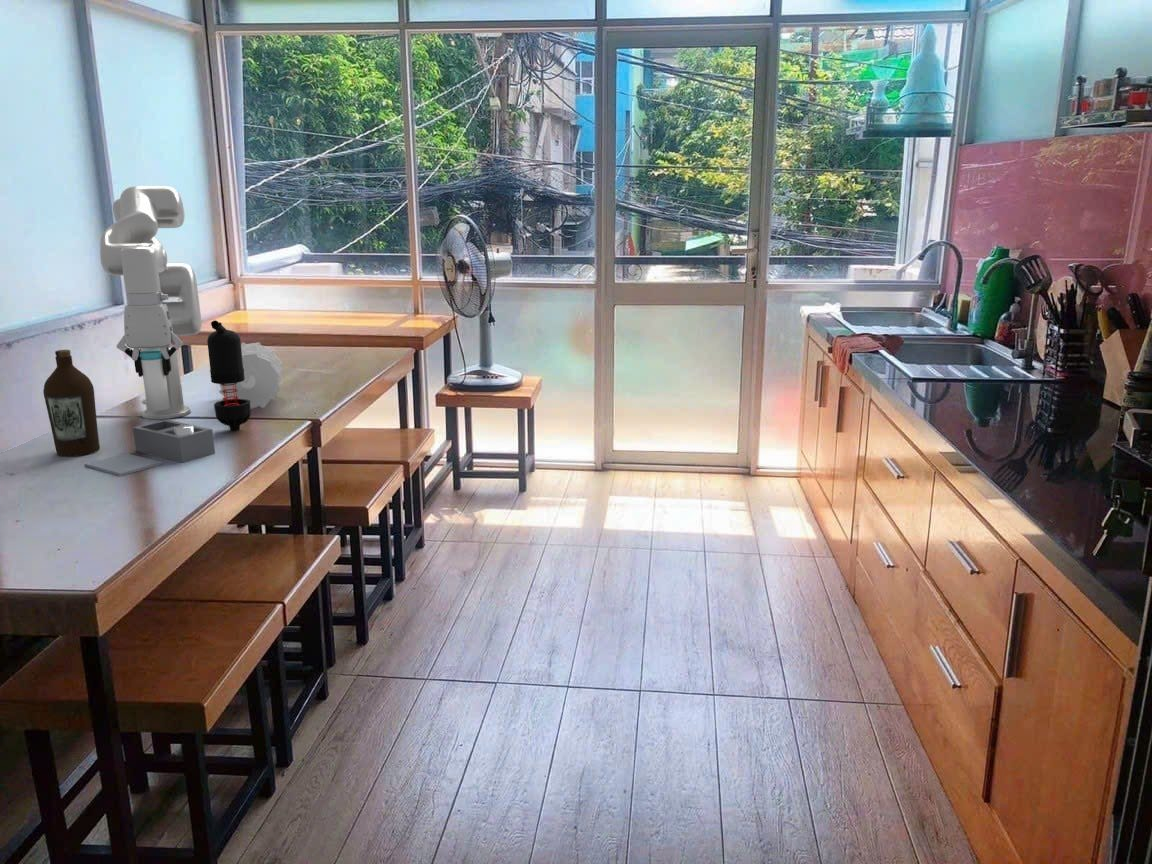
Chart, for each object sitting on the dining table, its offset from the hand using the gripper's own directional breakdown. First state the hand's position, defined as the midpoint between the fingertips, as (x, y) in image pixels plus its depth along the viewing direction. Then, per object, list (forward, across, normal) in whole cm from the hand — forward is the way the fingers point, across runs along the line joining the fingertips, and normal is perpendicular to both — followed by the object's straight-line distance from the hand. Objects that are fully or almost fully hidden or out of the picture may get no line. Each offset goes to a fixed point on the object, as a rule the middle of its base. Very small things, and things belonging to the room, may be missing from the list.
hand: (154, 374), depth 216 cm
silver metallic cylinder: (+17, -6, +7) cm, 19 cm away
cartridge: (+9, 0, 0) cm, 9 cm away
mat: (+19, +7, +12) cm, 23 cm away
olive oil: (+19, +20, -3) cm, 28 cm away
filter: (+19, -15, -15) cm, 29 cm away
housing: (+19, -3, +4) cm, 19 cm away
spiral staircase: (+20, -17, -45) cm, 52 cm away
